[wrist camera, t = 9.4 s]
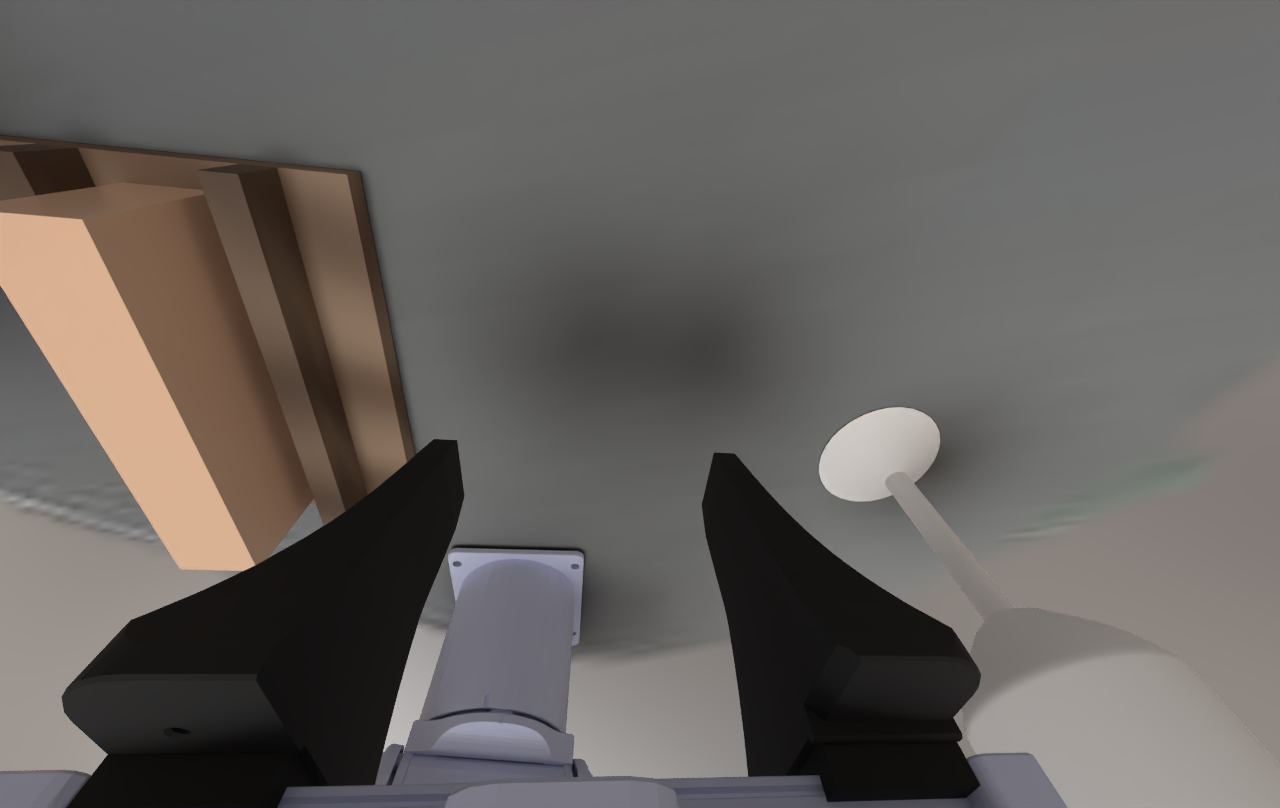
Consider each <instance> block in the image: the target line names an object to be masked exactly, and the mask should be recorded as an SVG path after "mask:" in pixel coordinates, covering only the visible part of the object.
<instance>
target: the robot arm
mask: <svg viewBox="0 0 1280 808" xmlns="http://www.w3.org/2000/svg"><path fill="white" fill-rule="evenodd" d="M463 499H464V490H463V482H462V475H461V467H460V460H459V452H458V444H457V440H439V439H434V440H433V441H431V442H430V443H429V444H428V445H427V446H425V447H424V448H423V449H422V450H421V451H420V452H418V453H417V454H416V455H415V456H414V457H413V458H411V459H410V460H409V461H408V462H407V463H406V464H405V465H403V466H402V467H401V468H400V469H399V470H398V471H396V472H395V473H394V474H393V475H392V476H390V477H389V478H388V479H387V480H385V481H384V482H383V483H382V484H381V485H379V486H378V487H377V488H376V489H374V490H373V491H372V492H371V493H369V494H368V495H367V496H365V497H364V498H363V499H361V500H360V501H359V502H357V503H356V504H355V505H353V506H352V507H351V508H349V509H348V510H347V511H345V512H344V513H342V514H341V515H339V516H338V517H336V518H335V519H333V520H332V521H331V522H329V523H327V524H326V525H324V526H323V527H321V528H320V529H318V530H316V531H315V532H313V533H312V534H310V535H308V536H307V537H305V538H304V539H302V540H300V541H298V542H297V543H295V544H293V545H291V546H289V547H288V548H286V549H284V550H282V551H280V552H279V553H277V554H275V555H273V556H271V557H270V558H268V559H266V560H264V561H262V562H261V563H259V564H257V565H255V566H253V567H251V568H249V569H247V570H245V571H243V572H241V573H239V574H237V575H235V576H233V577H230V578H228V579H226V580H224V581H222V582H220V583H218V584H216V585H213V586H211V587H209V588H207V589H205V590H203V591H200V592H198V593H196V594H193V595H191V596H189V597H187V598H184V599H182V600H179V601H177V602H174V603H172V604H170V605H167V606H165V607H162V608H160V609H158V610H155V611H153V612H150V613H148V614H145V615H143V616H140V617H138V618H135V619H132V620H131V621H130V622H129V623H128V624H127V625H126V626H125V627H124V628H123V629H122V630H121V631H120V632H119V633H118V634H117V635H116V636H115V637H114V638H113V639H112V640H111V642H110V643H109V644H108V645H107V646H106V647H105V648H104V649H103V650H102V651H101V652H100V653H99V654H98V655H97V656H96V658H95V659H94V660H93V661H92V662H91V663H90V664H89V665H88V666H87V667H86V668H85V669H84V670H83V671H82V672H81V673H80V674H79V676H78V677H77V678H76V679H75V680H74V681H73V682H72V683H71V684H70V685H69V686H68V687H67V689H66V690H65V692H64V694H63V695H62V702H63V708H64V712H65V713H66V715H67V716H68V717H69V719H70V720H71V721H72V722H73V723H74V724H75V725H76V726H77V727H78V728H79V729H80V730H82V731H83V732H84V733H85V734H86V735H87V736H88V737H89V738H91V739H92V740H93V741H94V742H95V743H96V744H97V745H98V746H99V747H100V748H102V749H103V750H104V751H105V752H106V753H107V754H108V755H107V756H106V758H105V759H104V760H103V762H102V763H101V764H100V765H99V767H98V768H97V769H96V771H95V772H94V773H93V775H92V776H91V775H89V774H86V773H82V772H78V771H70V770H40V771H39V770H35V771H1V772H0V808H1068V807H1067V806H1066V804H1065V803H1064V801H1063V800H1062V798H1061V797H1060V795H1059V794H1058V792H1057V790H1056V789H1055V787H1054V786H1053V784H1052V783H1051V781H1050V780H1049V778H1048V777H1047V775H1046V774H1045V772H1044V771H1043V769H1042V768H1041V766H1040V765H1039V763H1038V762H1037V760H1036V758H1035V757H1034V756H1033V755H1032V754H1030V753H984V754H977V755H974V756H971V757H968V758H967V759H966V758H965V756H964V754H963V752H962V750H961V748H960V747H959V745H958V743H957V741H960V740H961V739H962V733H961V731H960V729H959V727H958V726H957V724H956V722H955V720H954V718H953V717H954V716H955V715H956V714H957V713H958V712H959V710H960V709H961V708H962V707H963V706H964V705H965V704H966V703H967V702H968V701H969V700H970V698H971V697H972V696H973V695H974V694H975V692H976V691H977V689H978V688H979V684H980V679H981V673H980V671H979V668H978V666H977V665H976V663H975V662H974V660H973V659H972V657H971V656H970V654H969V653H968V652H967V650H966V648H965V647H964V645H963V644H962V642H961V641H960V639H959V638H958V636H957V635H956V633H955V632H954V631H953V629H952V628H950V627H949V626H946V625H945V624H943V623H941V622H939V621H938V620H936V619H934V618H932V617H930V616H929V615H927V614H925V613H923V612H921V611H919V610H918V609H916V608H914V607H912V606H910V605H908V604H907V603H905V602H903V601H902V600H900V599H899V598H897V597H895V596H894V595H892V594H890V593H889V592H887V591H886V590H884V589H882V588H881V587H879V586H878V585H876V584H875V583H873V582H872V581H870V580H869V579H867V578H866V577H864V576H863V575H861V574H860V573H859V572H857V571H856V570H855V569H853V568H852V567H850V566H849V565H848V564H846V563H845V562H843V561H842V560H841V559H840V558H838V557H837V556H836V555H834V554H833V553H832V552H831V551H829V550H828V549H827V548H826V547H825V546H823V545H822V544H821V543H820V542H819V541H817V540H816V539H815V538H814V537H813V536H812V535H810V534H809V533H808V532H807V531H806V530H805V529H804V528H803V527H802V526H801V525H800V524H799V523H798V522H796V521H795V520H794V519H793V518H792V517H791V516H790V515H789V514H788V513H787V512H786V511H785V510H784V509H783V508H782V507H781V506H780V505H779V504H778V502H777V501H776V500H775V499H774V498H773V497H772V496H771V495H770V494H769V493H768V492H767V491H766V489H765V488H764V487H763V486H762V485H761V484H760V483H759V481H758V480H757V479H756V478H755V477H754V476H753V475H752V473H751V472H750V471H749V470H748V469H747V467H746V466H745V465H744V464H743V463H742V462H741V460H740V459H739V458H738V457H737V456H736V455H735V454H731V453H714V455H713V459H712V464H711V468H710V472H709V476H708V481H707V485H706V489H705V494H704V498H703V502H702V510H703V518H704V526H705V533H706V538H707V542H708V546H709V550H710V554H711V558H712V561H713V565H714V569H715V573H716V576H717V580H718V584H719V588H720V591H721V595H722V599H723V602H724V606H725V611H726V615H727V620H728V625H729V631H730V637H731V643H732V649H733V656H734V662H735V669H736V676H737V683H738V690H739V698H740V706H741V714H742V722H743V730H744V739H745V748H746V758H747V768H748V777H723V778H722V777H721V778H720V777H719V778H673V779H653V778H644V777H632V776H611V777H609V776H607V777H593V776H592V775H591V773H590V771H589V770H588V766H587V764H586V763H585V761H584V760H582V759H573V748H574V747H573V746H574V736H573V735H572V734H566V720H567V707H568V693H569V678H570V665H571V651H572V646H574V645H577V644H578V643H579V636H580V618H581V600H582V583H583V565H584V555H583V554H582V553H581V552H579V551H557V550H518V549H479V548H454V549H451V550H450V552H449V554H448V562H449V567H450V573H451V579H452V585H453V591H454V597H455V602H456V604H455V607H454V611H453V614H452V617H451V620H450V623H449V627H448V630H447V633H446V636H445V639H444V643H443V646H442V649H441V652H440V655H439V658H438V662H437V665H436V668H435V671H434V674H433V678H432V681H431V684H430V687H429V690H428V694H427V697H426V700H425V703H424V706H423V709H422V713H421V716H420V719H419V720H416V721H414V722H413V725H412V729H411V731H410V735H409V738H408V741H407V744H406V747H405V750H404V746H403V745H398V744H391V745H390V746H389V747H388V748H387V749H386V751H385V752H383V749H384V744H385V740H386V736H387V732H388V728H389V725H390V721H391V717H392V713H393V709H394V705H395V702H396V698H397V694H398V690H399V687H400V683H401V680H402V676H403V672H404V668H405V665H406V661H407V658H408V655H409V651H410V648H411V644H412V641H413V638H414V635H415V631H416V628H417V625H418V621H419V618H420V615H421V613H422V610H423V607H424V605H425V602H426V599H427V597H428V595H429V592H430V590H431V587H432V585H433V583H434V580H435V578H436V575H437V573H438V571H439V568H440V566H441V563H442V561H443V559H444V556H445V554H446V551H447V549H448V546H449V544H450V542H451V539H452V537H453V534H454V532H455V529H456V526H457V522H458V518H459V515H460V511H461V507H462V503H463ZM403 751H404V753H403Z"/></svg>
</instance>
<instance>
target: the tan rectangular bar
mask: <svg viewBox="0 0 1280 808" xmlns="http://www.w3.org/2000/svg"><path fill="white" fill-rule="evenodd" d="M0 286H1V287H2V289H3V290H4V292H5V294H6V295H7V297H8V298H9V300H10V301H11V303H12V305H13V306H14V308H15V309H16V311H17V312H18V314H19V316H20V317H21V319H22V320H23V322H24V324H25V325H26V327H27V328H28V330H29V331H30V333H31V335H32V336H33V338H34V339H35V341H36V342H37V344H38V346H39V347H40V349H41V350H42V352H43V354H44V355H45V357H46V358H47V360H48V361H49V363H50V365H51V366H52V368H53V369H54V371H55V372H56V374H57V376H58V377H59V379H60V380H61V382H62V384H63V385H64V387H65V388H66V390H67V391H68V393H69V395H70V396H71V398H72V399H73V401H74V403H75V404H76V406H77V407H78V409H79V410H80V412H81V414H82V415H83V417H84V418H85V420H86V421H87V423H88V425H89V426H90V428H91V429H92V431H93V433H94V434H95V436H96V437H97V439H98V440H99V442H100V444H101V445H102V447H103V448H104V450H105V451H106V453H107V455H108V456H109V458H110V459H111V461H112V463H113V464H114V466H115V467H116V469H117V470H118V472H119V474H120V475H121V477H122V478H123V480H124V481H125V483H126V485H127V486H128V488H129V489H130V491H131V493H132V494H133V496H134V497H135V499H136V500H137V502H138V504H139V505H140V507H141V508H142V510H143V511H144V513H145V515H146V516H147V518H148V519H149V521H150V523H151V524H152V526H153V527H154V529H155V530H156V532H157V534H158V535H159V537H160V538H161V540H162V542H163V543H164V545H165V546H166V548H167V549H168V551H169V553H170V554H171V556H172V557H173V559H174V560H175V562H176V563H177V565H178V567H179V568H180V569H187V570H236V571H245V570H247V569H249V568H251V567H253V566H255V565H257V564H259V563H261V562H262V561H264V560H266V559H268V557H269V556H270V555H271V554H272V552H273V551H274V550H275V548H276V547H277V546H278V544H279V543H280V542H281V540H282V539H283V538H284V537H285V535H286V534H287V533H288V531H289V530H290V529H291V527H292V526H293V525H294V523H295V522H296V521H297V520H298V518H299V517H300V516H301V514H302V513H303V512H304V510H305V509H306V508H307V506H308V505H309V504H310V503H311V501H312V500H313V499H314V497H313V494H312V491H311V489H310V486H309V483H308V480H307V478H306V475H305V472H304V469H303V466H302V464H301V461H300V458H299V455H298V453H297V450H296V447H295V444H294V442H293V439H292V436H291V433H290V430H289V428H288V425H287V422H286V419H285V417H284V414H283V411H282V408H281V405H280V403H279V400H278V397H277V394H276V392H275V389H274V386H273V383H272V380H271V378H270V375H269V372H268V369H267V367H266V364H265V361H264V358H263V355H262V353H261V350H260V347H259V344H258V342H257V339H256V336H255V333H254V331H253V328H252V325H251V322H250V319H249V317H248V314H247V311H246V308H245V306H244V303H243V300H242V297H241V294H240V292H239V289H238V286H237V283H236V281H235V278H234V275H233V272H232V269H231V267H230V264H229V261H228V258H227V256H226V253H225V250H224V247H223V244H222V242H221V239H220V236H219V233H218V231H217V228H216V225H215V222H214V220H213V217H212V214H211V211H210V208H209V206H208V203H207V200H206V197H205V195H204V192H203V190H198V189H188V188H177V187H166V186H156V185H145V184H134V183H117V184H111V185H104V186H97V187H90V188H84V189H77V190H70V191H64V192H57V193H50V194H43V195H37V196H30V197H23V198H16V199H10V200H3V201H0Z"/></svg>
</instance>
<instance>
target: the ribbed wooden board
mask: <svg viewBox="0 0 1280 808" xmlns="http://www.w3.org/2000/svg"><path fill="white" fill-rule="evenodd" d="M117 183H134V184H145V185H156V186H166V187H177V188H188V189H198V190H203V192H204V195H205V197H206V200H207V203H208V206H209V208H210V211H211V214H212V217H213V220H214V222H215V225H216V228H217V231H218V233H219V236H220V239H221V242H222V244H223V247H224V250H225V253H226V256H227V258H228V261H229V264H230V267H231V269H232V272H233V275H234V278H235V281H236V283H237V286H238V289H239V292H240V294H241V297H242V300H243V303H244V306H245V308H246V311H247V314H248V317H249V319H250V322H251V325H252V328H253V331H254V333H255V336H256V339H257V342H258V344H259V347H260V350H261V353H262V355H263V358H264V361H265V364H266V367H267V369H268V372H269V375H270V378H271V380H272V383H273V386H274V389H275V392H276V394H277V397H278V400H279V403H280V405H281V408H282V411H283V414H284V417H285V419H286V422H287V425H288V428H289V430H290V433H291V436H292V439H293V442H294V444H295V447H296V450H297V453H298V455H299V458H300V461H301V464H302V466H303V469H304V472H305V475H306V478H307V480H308V483H309V486H310V489H311V491H312V494H313V497H314V499H313V500H312V501H311V503H312V504H316V505H317V508H318V511H319V514H320V516H321V519H322V522H323V525H326V524H327V523H329V522H331V521H332V520H333V519H335V518H336V517H338V516H339V515H341V514H342V513H344V512H345V511H347V510H348V509H349V508H351V507H352V506H353V505H355V504H356V503H357V502H359V501H360V500H361V499H363V498H364V497H365V496H367V495H368V494H369V493H371V492H372V491H373V490H374V489H376V488H377V487H378V486H379V485H381V484H382V483H383V482H384V481H385V480H387V479H388V478H389V477H390V476H392V475H393V474H394V473H395V472H396V471H398V470H399V469H400V468H401V467H402V466H403V465H405V464H406V463H407V462H408V461H409V460H410V459H411V458H413V457H414V456H415V453H414V448H413V443H412V437H411V432H410V427H409V422H408V417H407V412H406V407H405V401H404V396H403V391H402V386H401V381H400V376H399V370H398V365H397V360H396V355H395V350H394V345H393V339H392V334H391V329H390V324H389V319H388V314H387V309H386V303H385V298H384V293H383V288H382V283H381V278H380V272H379V267H378V262H377V257H376V252H375V247H374V241H373V236H372V231H371V226H370V221H369V216H368V210H367V205H366V200H365V195H364V190H363V185H362V180H361V174H360V171H350V170H341V169H331V168H321V167H311V166H301V165H291V164H281V163H271V162H261V161H251V160H241V159H232V158H222V157H212V156H202V155H192V154H182V153H172V152H162V151H152V150H142V149H132V148H123V147H113V146H103V145H93V144H83V143H73V142H63V141H53V140H43V139H33V138H23V137H14V136H4V135H0V201H3V200H10V199H16V198H23V197H30V196H37V195H43V194H50V193H57V192H64V191H70V190H77V189H84V188H90V187H97V186H104V185H111V184H117Z"/></svg>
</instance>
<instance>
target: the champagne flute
mask: <svg viewBox="0 0 1280 808" xmlns="http://www.w3.org/2000/svg"><path fill="white" fill-rule="evenodd" d="M939 446H940V433H939V430H938V428H937V425H936V424H935V422H934V421H933V420H932V419H931V418H930V417H929V416H927V415H926V414H924V413H923V412H920V411H918V410H915V409H911V408H904V407H893V408H885V409H880V410H876V411H873V412H870V413H867V414H864V415H862V416H860V417H859V418H857V419H855V420H853V421H851V422H850V423H848V424H847V425H846V426H844V427H843V428H842V429H840V430H839V431H838V432H837V433H836V434H835V435H834V436H833V437H832V439H831V440H830V441H829V443H828V444H827V445H826V447H825V449H824V451H823V453H822V455H821V459H820V463H819V475H820V479H821V482H822V483H823V485H824V486H825V488H826V489H827V490H828V491H829V492H830V493H832V494H833V495H835V496H837V497H839V498H842V499H845V500H849V501H858V502H861V501H873V500H878V499H882V498H885V497H888V496H892V495H893V496H894V498H895V499H896V500H897V502H898V503H899V505H900V506H901V507H902V509H903V510H904V511H905V513H906V514H907V515H908V517H909V518H910V520H911V521H912V522H913V524H914V525H915V526H916V528H917V529H918V530H919V532H920V533H921V535H922V536H923V537H924V539H925V540H926V541H927V543H928V544H929V545H930V547H931V548H932V550H933V551H934V552H935V554H936V555H937V556H938V558H939V559H940V560H941V562H942V563H943V565H944V566H945V567H946V569H947V570H948V571H949V573H950V574H951V575H952V577H953V578H954V580H955V581H956V582H957V584H958V585H959V586H960V588H961V589H962V590H963V592H964V593H965V595H966V596H967V597H968V598H969V600H970V601H971V603H972V604H973V605H974V607H975V608H976V609H977V611H978V612H979V614H980V615H981V616H982V618H983V619H984V620H985V622H984V624H983V625H982V626H981V627H980V629H979V630H978V632H977V633H976V636H975V639H974V643H973V646H972V649H971V652H970V656H971V657H972V659H973V660H974V662H975V663H976V665H977V666H978V668H979V671H980V673H981V679H980V684H979V688H978V689H977V691H976V692H975V694H974V695H973V696H972V697H971V698H970V700H969V701H968V702H967V703H966V704H965V705H964V706H963V707H962V712H963V722H964V730H965V733H966V736H967V739H968V741H969V744H970V745H971V747H972V748H973V750H974V751H975V753H976V754H984V753H1030V754H1032V755H1033V756H1034V757H1035V758H1036V760H1037V762H1038V763H1039V765H1040V766H1041V768H1042V769H1043V771H1044V772H1045V774H1046V775H1047V777H1048V778H1049V780H1050V781H1051V783H1052V784H1053V786H1054V787H1055V789H1056V790H1057V792H1058V794H1059V795H1060V797H1061V798H1062V800H1063V801H1064V803H1065V804H1066V806H1067V807H1068V808H1280V764H1279V763H1278V762H1277V761H1276V760H1275V758H1274V757H1273V756H1272V755H1271V754H1270V753H1269V752H1268V751H1267V750H1266V749H1265V747H1264V746H1263V745H1262V744H1261V743H1260V742H1259V741H1258V740H1257V739H1256V737H1255V736H1254V735H1253V734H1252V733H1251V732H1250V731H1249V730H1248V729H1247V728H1246V727H1245V725H1244V724H1243V723H1242V722H1241V721H1240V720H1239V719H1238V718H1237V717H1236V716H1235V714H1234V713H1233V712H1232V711H1231V710H1230V709H1229V708H1228V707H1227V706H1226V704H1224V702H1223V701H1222V700H1221V699H1220V698H1219V697H1218V696H1217V695H1216V693H1215V692H1214V691H1213V690H1212V689H1211V688H1210V687H1209V686H1208V685H1207V684H1206V682H1205V681H1204V680H1203V679H1202V678H1201V677H1200V676H1199V675H1198V674H1197V673H1196V671H1195V670H1194V669H1193V668H1192V667H1191V666H1190V665H1188V664H1187V663H1186V662H1184V661H1183V660H1181V659H1180V658H1179V657H1177V656H1176V655H1174V654H1173V653H1171V652H1169V651H1168V650H1166V649H1164V648H1162V647H1160V646H1158V645H1156V644H1154V643H1152V642H1149V641H1147V640H1145V639H1143V638H1141V637H1139V636H1137V635H1135V634H1132V633H1129V632H1127V631H1124V630H1121V629H1118V628H1116V627H1113V626H1110V625H1107V624H1105V623H1101V622H1097V621H1093V620H1088V619H1084V618H1080V617H1075V616H1070V615H1066V614H1060V613H1056V612H1052V611H1047V610H1042V609H1038V608H1015V607H1014V606H1013V605H1012V603H1011V602H1010V601H1009V600H1008V598H1007V597H1006V596H1005V595H1004V593H1003V592H1002V591H1001V590H1000V588H999V587H998V586H997V585H996V584H995V582H994V581H993V580H992V579H991V577H990V576H989V575H988V574H987V572H986V571H985V570H984V569H983V568H982V566H981V565H980V564H979V563H978V561H977V560H976V559H975V558H974V557H973V555H972V554H971V553H970V552H969V550H968V549H967V548H966V547H965V545H964V544H963V543H962V542H961V541H960V539H959V538H958V537H957V536H956V534H955V533H954V532H953V531H952V529H951V528H950V527H949V526H948V525H947V523H946V522H945V521H944V520H943V518H942V517H941V516H940V515H939V513H938V512H937V511H936V510H935V509H934V507H933V506H932V505H931V504H930V502H929V501H928V500H927V499H926V498H925V496H924V495H923V494H922V493H921V491H920V490H919V489H918V488H917V486H916V485H915V484H914V482H916V481H917V480H918V479H919V478H921V477H922V476H923V475H924V473H925V472H926V471H927V470H928V469H929V468H930V466H931V465H932V463H933V462H934V460H935V458H936V456H937V453H938V451H939Z"/></svg>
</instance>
